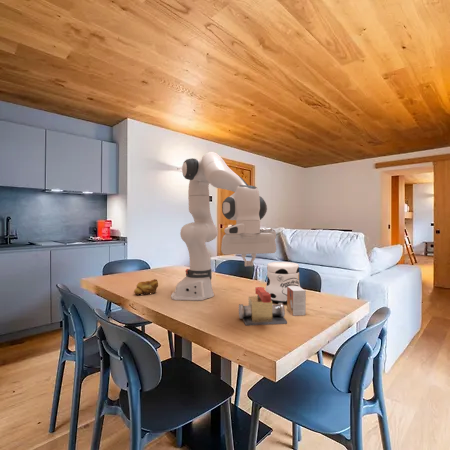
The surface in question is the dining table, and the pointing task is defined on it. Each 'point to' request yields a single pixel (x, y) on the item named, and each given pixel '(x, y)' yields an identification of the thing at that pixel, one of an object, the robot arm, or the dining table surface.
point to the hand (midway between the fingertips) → (248, 266)
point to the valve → (262, 312)
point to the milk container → (281, 279)
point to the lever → (263, 294)
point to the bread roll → (146, 287)
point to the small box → (296, 300)
